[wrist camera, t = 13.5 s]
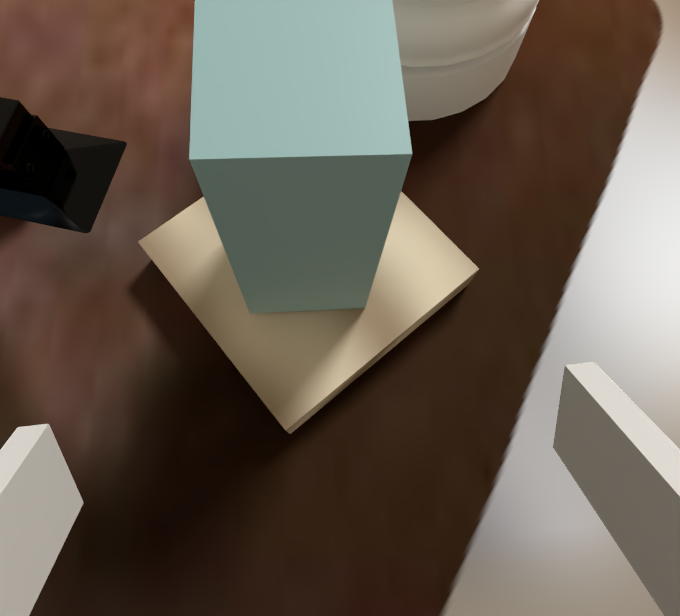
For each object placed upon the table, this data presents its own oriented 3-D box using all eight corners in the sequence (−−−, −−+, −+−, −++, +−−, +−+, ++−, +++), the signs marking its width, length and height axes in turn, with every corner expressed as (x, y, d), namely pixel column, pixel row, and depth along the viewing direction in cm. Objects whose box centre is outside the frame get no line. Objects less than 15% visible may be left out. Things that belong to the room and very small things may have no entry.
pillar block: (365, 308, 22) (412, 153, 11) (249, 313, 21) (189, 159, 11) (356, 207, 23) (391, -10, 13) (249, 210, 23) (195, -9, 13)
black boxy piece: (-108, 211, 26) (-198, 160, 22) (-46, 99, 28) (-117, 32, 24) (115, 257, 25) (68, 213, 21) (162, 138, 27) (127, 75, 23)
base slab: (291, 435, 23) (285, 430, 20) (157, 263, 25) (138, 241, 23) (465, 288, 25) (478, 268, 22) (325, 144, 27) (323, 113, 25)
